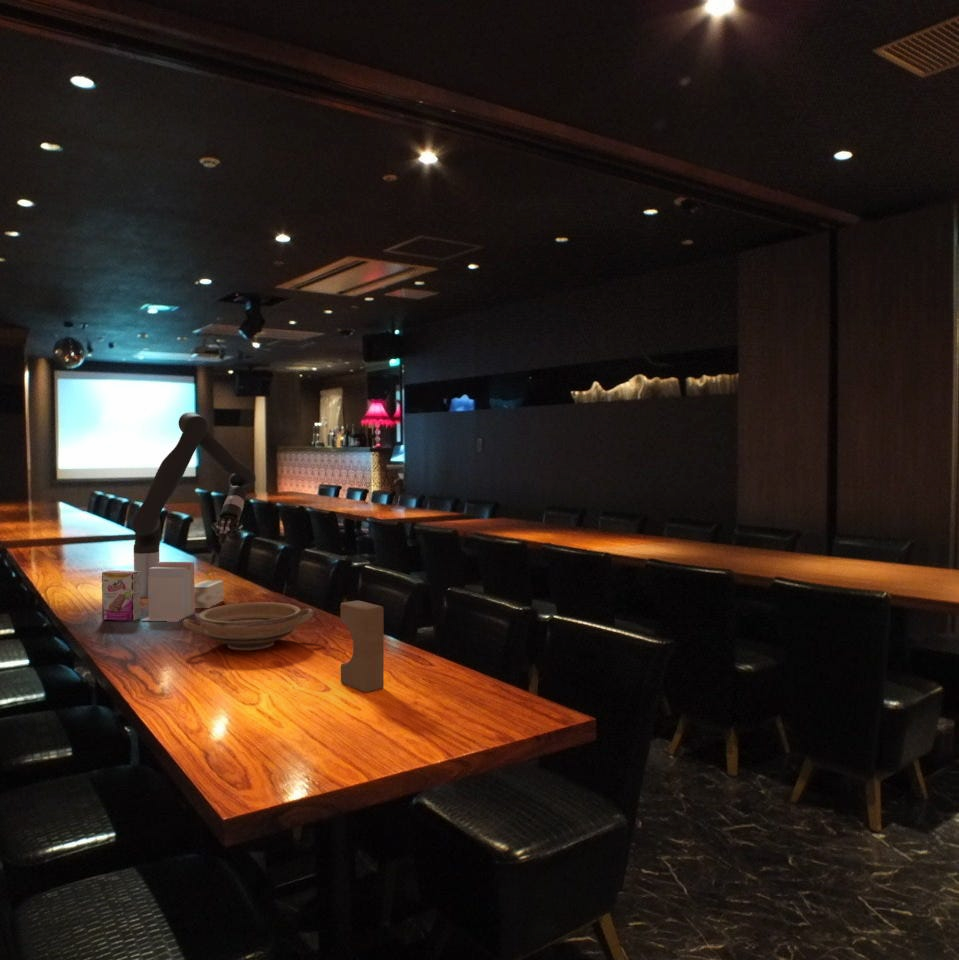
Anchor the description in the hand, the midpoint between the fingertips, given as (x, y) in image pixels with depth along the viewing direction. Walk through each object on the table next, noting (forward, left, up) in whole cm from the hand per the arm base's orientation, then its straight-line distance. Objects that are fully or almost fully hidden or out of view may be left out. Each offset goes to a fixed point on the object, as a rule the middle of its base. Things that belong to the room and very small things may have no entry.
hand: (221, 543), depth 304 cm
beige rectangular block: (0, -14, -21) cm, 26 cm away
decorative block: (+78, -108, -21) cm, 135 cm away
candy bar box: (-18, -41, -21) cm, 50 cm away
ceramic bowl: (+37, -71, -21) cm, 83 cm away
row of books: (-4, -36, -21) cm, 42 cm away
